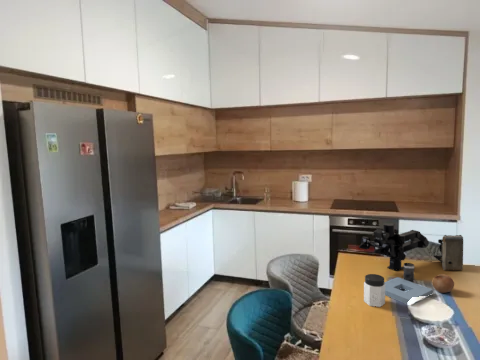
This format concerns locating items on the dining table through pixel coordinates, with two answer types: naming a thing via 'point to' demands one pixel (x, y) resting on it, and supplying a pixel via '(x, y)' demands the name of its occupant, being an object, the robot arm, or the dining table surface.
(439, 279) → the onion
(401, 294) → the mount block
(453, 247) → the vintage camera
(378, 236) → the robot arm
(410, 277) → the lens
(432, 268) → the dining table surface
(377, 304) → the jar
